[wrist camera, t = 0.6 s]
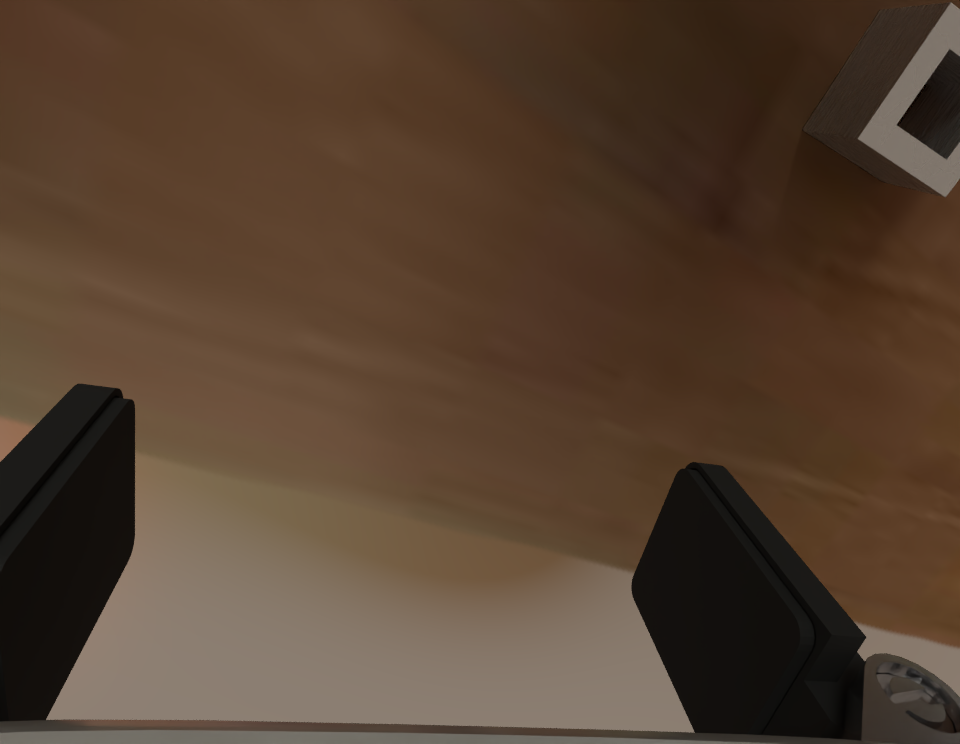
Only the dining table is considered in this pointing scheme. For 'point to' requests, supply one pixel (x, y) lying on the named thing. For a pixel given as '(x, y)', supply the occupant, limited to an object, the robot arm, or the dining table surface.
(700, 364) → the dining table surface
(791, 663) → the robot arm
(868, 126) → the grey hollow square block
